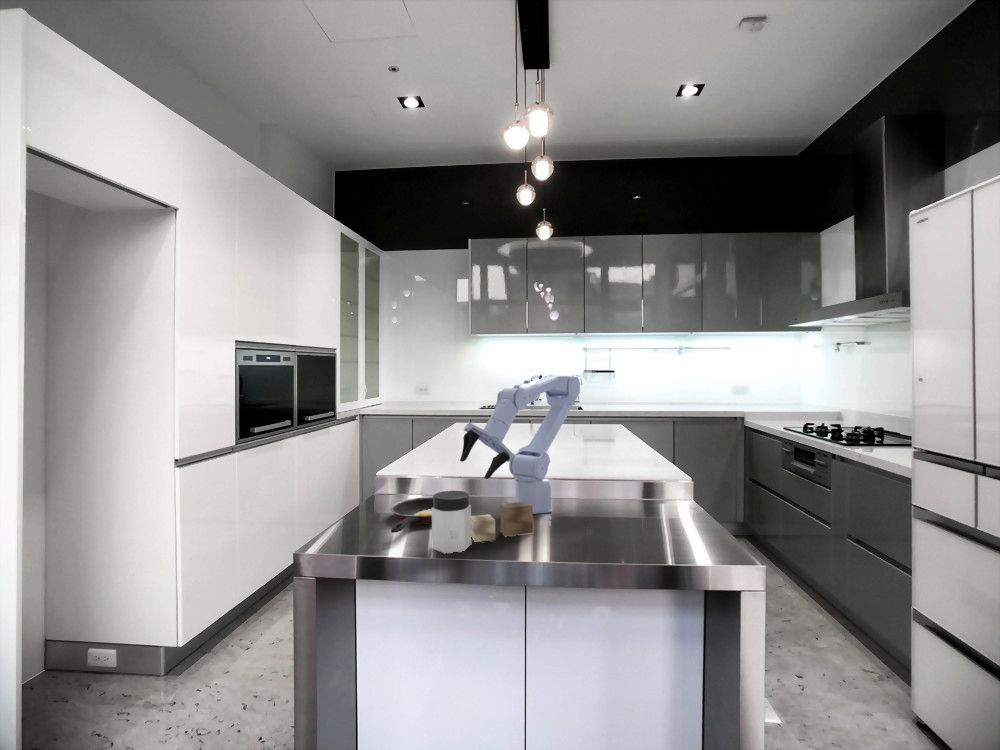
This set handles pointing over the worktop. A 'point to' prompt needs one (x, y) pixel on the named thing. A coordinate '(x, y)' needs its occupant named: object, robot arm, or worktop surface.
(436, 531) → the jar
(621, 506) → the worktop surface
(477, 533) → the maple block
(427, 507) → the frying pan
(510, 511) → the walnut block
